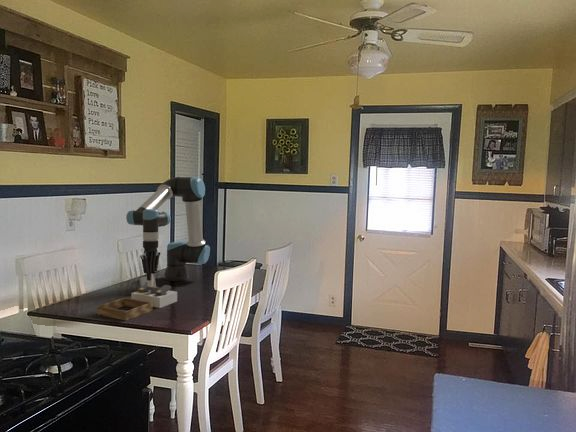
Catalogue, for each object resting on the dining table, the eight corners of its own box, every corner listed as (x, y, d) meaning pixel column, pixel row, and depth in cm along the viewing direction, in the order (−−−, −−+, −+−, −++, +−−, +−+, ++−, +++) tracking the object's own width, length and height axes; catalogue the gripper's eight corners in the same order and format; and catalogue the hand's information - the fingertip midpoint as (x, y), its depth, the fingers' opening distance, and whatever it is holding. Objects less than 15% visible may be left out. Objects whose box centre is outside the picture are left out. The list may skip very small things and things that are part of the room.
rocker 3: (165, 287, 250) (164, 284, 249) (171, 288, 248) (170, 285, 248) (155, 294, 243) (154, 291, 243) (161, 295, 241) (161, 292, 241)
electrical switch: (142, 295, 261) (141, 278, 261) (137, 294, 265) (136, 277, 264) (157, 292, 269) (156, 275, 268) (151, 291, 272) (150, 275, 272)
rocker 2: (156, 290, 252) (156, 286, 252) (162, 290, 250) (162, 287, 251) (146, 289, 245) (146, 286, 245) (152, 290, 243) (152, 287, 243)
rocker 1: (148, 284, 254) (147, 282, 254) (154, 285, 253) (153, 283, 252) (138, 291, 247) (137, 289, 247) (144, 292, 246) (143, 289, 245)
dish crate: (124, 305, 241) (124, 297, 240) (152, 310, 234) (152, 302, 233) (97, 314, 225) (97, 306, 224) (126, 320, 218) (126, 311, 217)
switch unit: (149, 296, 258) (149, 285, 258) (177, 301, 251) (177, 289, 251) (131, 303, 246) (131, 291, 245) (159, 307, 238) (159, 296, 238)
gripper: (153, 238, 250) (153, 282, 252) (135, 241, 238) (135, 288, 240) (164, 239, 247) (164, 284, 249) (147, 242, 235) (147, 289, 237)
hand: (150, 286), depth 245 cm, fingers closed
